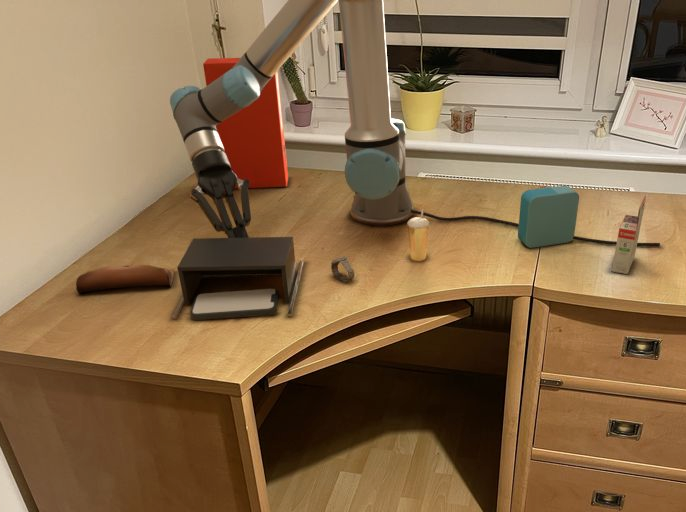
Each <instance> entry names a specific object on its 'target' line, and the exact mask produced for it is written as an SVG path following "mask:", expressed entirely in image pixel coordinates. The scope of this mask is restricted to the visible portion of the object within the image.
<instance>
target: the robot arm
mask: <svg viewBox="0 0 686 512" xmlns="http://www.w3.org/2000/svg"><path fill="white" fill-rule="evenodd" d="M337 3H338V7H339V19H340V29H341V38H342V39H341V40H342V49H343V59H344V67H345V68H344V71H345V79H346V89H347V90H346V91H347V101H348V110H349V121H350V122H349V123H350V126H349V127H348V129H347V130H346V131H345V132H344V143H345V152H346V153H345V155H346V163H345V165H344V177H345V178H344V179H345V181H346V184H347V185H348V187H349V189H351V191H352V192H353V193H354V195H353V199H352V203H351V209H350V211H351V218H352V219H353V220H355V221H356V222H358V223H360V224H364V225H368V226H378V227H381V226H385V227H386V226H393V225H399V224H402V223H405V222H408V221H409V220H410V219H412V218H413V216H414V214H416V215H420V216H421V211H419V210H416V209H414V205H413V201H412V199H411V198H412V197H411V195H410V192H409V190H408V187H407V182H406V179H407V177H406V176H407V175H406V173H407V172H406V136H407V131H406V124H405V122H404V121H403V120H401V119H397V118H392V116H391V115H392V114H391V100H390V99H391V98H390V86H389V83H390V82H389V72H388V71H389V69H388V56H387V55H388V54H387V41H386V39H387V38H386V25H385V23H386V22H385V11H384V9H385V8H384V0H287V1H286V3H285V4H284V5H283V6H282V7H281V8H280V9H279V11H278V12H277V13H276V14H275V16H274V17H273V18H272V19H271V21H270V22H269V23H268V24H267V26H265V28H264V29H263V31H262V32H260V34H259V35H258V36H257V38H255V40H254V41H253V42H252V44H251V45H250V46H249V47H248V49H247V50H246V51H245V52H244V54H243V55H241V57H239V58H240V59H239V61H238V62H237V63H236V64H235V65H234V67H233V68H231V69H230V70H229V71H227V72H226V73H225V74H223V75H222V76H221V77H219V78H218V79H216V80H215V81H213V82H212V83H211V84H209V85H208V86H204V88H202V89H201V88H200V87H198V86H195V85H185V86H184V87H179V88H177V89H176V90H174V91H172V93H171V95H170V98H169V104H170V108H171V111H172V117H173V120H175V122H176V125H177V128H178V130H179V133H180V135H181V138H182V141H183V143H184V146H185V149H186V151H187V155H188V157H189V160H190V162H191V165H192V169H193V171H194V173H195V177H196V179H197V185H196V187H195V188H192V189H191V191H190V196H189V197H190V199H191V200H192V201H194V202H195V203H196V204H197V205H198V206H199V208H200V209H201V210H202V212H203V214H204V215H205V217H206V218H207V220H208V221H209V222H210V224H211V225H212V227H213V228H214V230H215V231H216V232H217V233H220V232H224V234H225V235H226V237H227V238H250V236H249V234H248V232H247V231H248V230H247V229H246V227H249V225H250V224H251V221H252V216H251V206H250V197H249V188H248V186H249V183H250V181H249V180H248V179H245V180H241V179H238V178H237V176H236V174H234V173H233V171H232V168H231V166H230V163H229V160H228V158H227V155H226V153H225V150H224V147H223V145H222V142H221V140H220V137H219V134H218V132H217V128H216V125H217V124H219V123H221V122H222V121H224V120H225V119H227V118H228V117H230V116H232V115H233V114H235V113H237V112H238V111H240V110H241V109H243V108H245V107H248V106H249V105H250V104H251V103H253V102H254V101H255V100H256V99H258V98H259V96H260V92H261V91H262V90H263V88H264V87H265V85H266V84H267V83H268V81H269V80H270V79H271V78H272V76H273V75H274V74H275V73H276V72H277V71H278V70H280V69H281V67H282V66H283V65H284V64H285V63H286V62H287V60H289V58H290V57H291V56H292V55H293V53H294V52H295V51H296V50H297V49H298V48H299V47H300V46H301V44H302V43H303V42H304V41H305V40H306V39H307V37H308V36H309V35H310V34H311V33H312V32H313V31H314V29H316V27H317V26H318V25H319V24H320V22H322V20H323V19H324V18H325V17H326V15H327V14H328V13H329V12H330V11H331V10H332V9H333V8H334V6H335V5H336V4H337ZM278 72H279V71H278ZM236 184H237V185H238V188H237V189H238V191H240V194H239V196H240V205H241V211H240V209H239V206H238V203H237V201H236V198H235V193H234V191H235V189H236V188H235V185H236ZM204 194H205V195H207V196H208V197H209V198H211V199H212V202H213V204H214V206H215V209H216V211H217V213H218V215H217V213H216V212H215V210H214V208H213V207H212V205H211V204H210V203H209V201H208V200H207V198H206V197H205V196H204ZM224 201H225V202H226V204H227V207H228V210H229V212H230V214H231V218H232V220H233V222H234V225H235V226H234V227H233V224H232V221H231V218H230V216H229V213H228V211H227V208H226V205H225V202H224ZM423 217H429V218H432V219H434V220H438V221H443V222H453V221H454V222H455V221H462V220H463V221H464V220H483V221H489V222H493V223H498V224H503V225H508V226H511V227H512V226H513V227H517V228H518V227H519V222H518V223H517V222H513V221H508V220H503V219H497V218H494V217H489V216H480V215H463V216H453V217H443V216H438V215H435V214H433V213H429V212H425V211H424V212H423ZM572 240H575V241H579V242H580V241H581V242H587V243H593V244H601V245H602V244H603V245H613V246H616V244H617V240H616V241H615V240H604V239H596V238H588V237H581V236H576V235H574V238H573V239H572ZM637 247H661V243H660V242H637Z"/></svg>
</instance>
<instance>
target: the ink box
mask: <svg viewBox="0 0 686 512" xmlns="http://www.w3.org/2000/svg"><path fill="white" fill-rule="evenodd" d="M646 200H647V195H646V194H645V195H644V197H643V199H642V201H641V203H640V206H639V208H638V213H637V215H631V214H625V216H624V218H623V219H622V221H621V224H620V226H619V228H618V233H617V240H616V242H617V244H616V245H615V249H614V255H613V261H612V266H611V270H610V271H611V272H613V273H616V274H617V273H618V274H624V275H628V274H629V271H630V269H631V267H632V264H633V262H634V259H635V256H636V252H637V247H638V246H637V243H639V236H640V231H641V226H642V221H643V216H644V211H645V206H646Z"/></svg>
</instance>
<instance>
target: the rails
mask: <svg viewBox="0 0 686 512" xmlns="http://www.w3.org/2000/svg"><path fill="white" fill-rule="evenodd" d="M304 263H305V262H304V261H303V260H300V261H299V264H298V269H297V272H296V276H295V280H294V285H293V289H292V293H291V298H290V302H289V307H288V312H287V317H288V318H292V317H293V313H294V308H295V305H296V299H297V295H298V291H299V287H300V281H301V278H302V273H303V268H304V265H305V264H304ZM184 305H185V303H184V298H183V295H182V296H181V298H180V300H179V302H178V304H177V306H176V308H175V309H174V312H173V314H172V316H171V318H172V320H177V319H178V316H179V315H180V312H181V310H182V309H183V306H184Z"/></svg>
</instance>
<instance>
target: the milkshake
mask: <svg viewBox="0 0 686 512" xmlns="http://www.w3.org/2000/svg"><path fill="white" fill-rule="evenodd" d="M423 212H425V210H424V209H421V215H420V217H416V216H415V217H411V218H410V219H409V220H407V223H406V224H407V232H408V242H409V243H408V244H409V255H410V259H411V260H412V261H414V262H421V261H425V260H426V258H427V248H428V237H429V229H430V221H429V220H428V219H426V218H425V217H424V215H423Z"/></svg>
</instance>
